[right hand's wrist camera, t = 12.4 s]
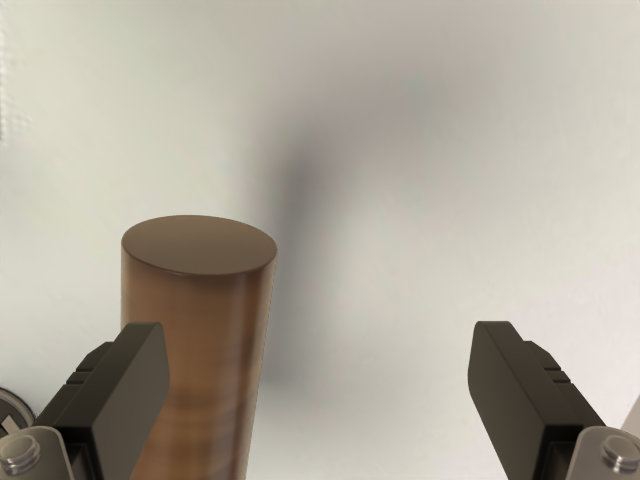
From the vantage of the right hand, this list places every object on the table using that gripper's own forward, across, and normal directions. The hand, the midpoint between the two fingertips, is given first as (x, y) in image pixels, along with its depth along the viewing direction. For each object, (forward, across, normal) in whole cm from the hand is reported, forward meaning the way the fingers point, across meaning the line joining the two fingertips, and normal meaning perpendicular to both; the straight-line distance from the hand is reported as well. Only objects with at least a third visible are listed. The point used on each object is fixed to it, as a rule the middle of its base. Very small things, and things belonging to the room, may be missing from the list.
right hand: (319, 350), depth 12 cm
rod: (+10, -7, -12) cm, 17 cm away
